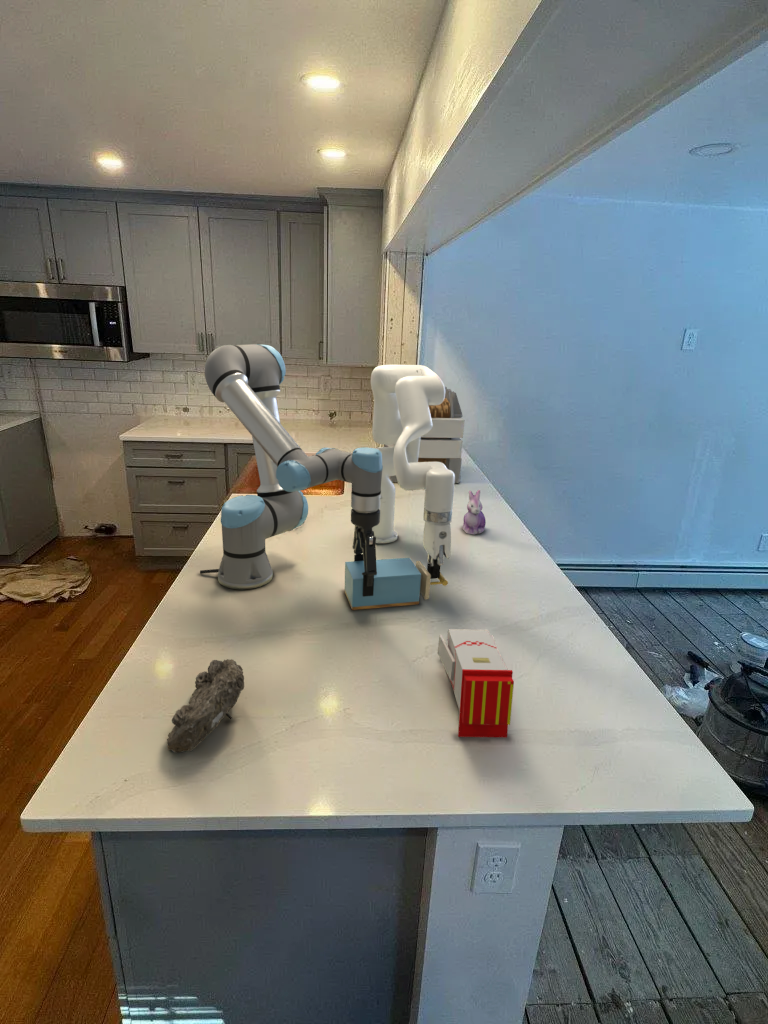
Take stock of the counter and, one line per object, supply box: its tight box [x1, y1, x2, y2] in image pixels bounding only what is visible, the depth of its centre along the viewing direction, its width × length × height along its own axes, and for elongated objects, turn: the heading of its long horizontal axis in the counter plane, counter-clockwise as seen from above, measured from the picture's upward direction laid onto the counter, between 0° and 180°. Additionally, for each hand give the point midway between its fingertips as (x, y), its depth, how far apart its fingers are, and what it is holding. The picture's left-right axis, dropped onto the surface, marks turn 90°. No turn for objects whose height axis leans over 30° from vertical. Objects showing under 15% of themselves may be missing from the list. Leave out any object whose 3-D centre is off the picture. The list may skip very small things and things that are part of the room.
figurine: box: [462, 489, 487, 535], centre depth 203 cm, size 9×10×15 cm
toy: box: [437, 628, 515, 738], centre depth 117 cm, size 12×13×30 cm
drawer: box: [415, 560, 449, 600], centre depth 156 cm, size 23×9×7 cm, turn 105°
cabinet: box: [343, 557, 421, 611], centre depth 154 cm, size 18×11×9 cm, turn 105°
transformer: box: [383, 386, 465, 484], centre depth 268 cm, size 34×33×41 cm
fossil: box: [166, 658, 245, 754], centre depth 106 cm, size 22×10×15 cm
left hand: (363, 585), depth 153 cm, fingers closed on cabinet, 11 cm apart
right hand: (433, 577), depth 157 cm, fingers closed
